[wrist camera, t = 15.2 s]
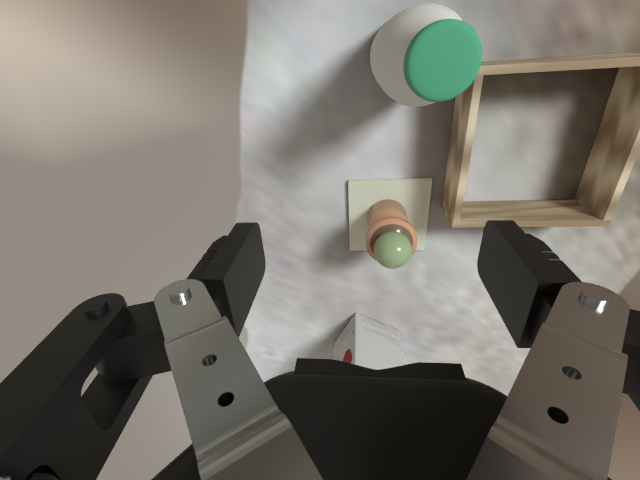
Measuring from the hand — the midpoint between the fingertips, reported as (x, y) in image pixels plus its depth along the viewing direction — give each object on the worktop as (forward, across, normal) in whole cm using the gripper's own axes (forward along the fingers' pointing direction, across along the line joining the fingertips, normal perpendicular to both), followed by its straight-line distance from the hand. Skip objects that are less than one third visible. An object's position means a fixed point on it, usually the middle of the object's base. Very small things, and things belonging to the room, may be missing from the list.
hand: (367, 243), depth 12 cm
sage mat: (+33, -4, +15) cm, 37 cm away
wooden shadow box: (+33, -20, +5) cm, 39 cm away
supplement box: (+33, -1, +39) cm, 51 cm away
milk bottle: (+33, -5, -5) cm, 34 cm away
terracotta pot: (+33, -4, +15) cm, 36 cm away
